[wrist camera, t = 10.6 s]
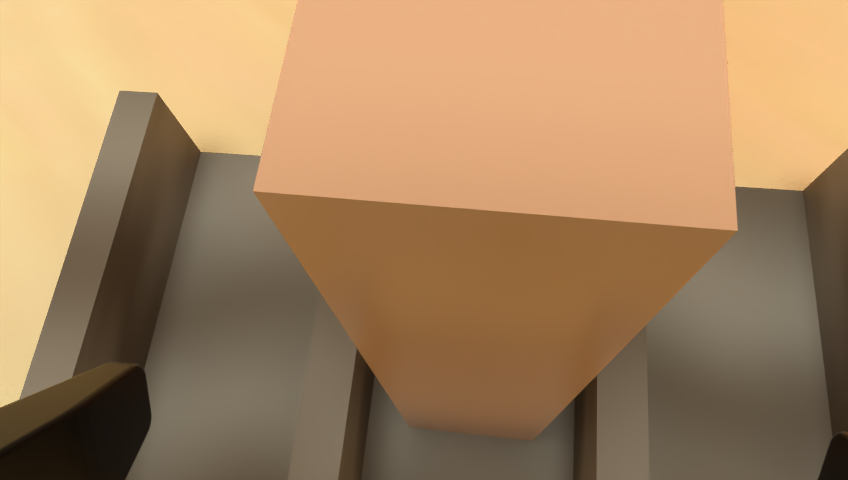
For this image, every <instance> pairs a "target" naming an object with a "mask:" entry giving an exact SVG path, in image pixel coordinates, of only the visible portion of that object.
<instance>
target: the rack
mask: <svg viewBox="0 0 848 480" xmlns="http://www.w3.org/2000/svg"><path fill="white" fill-rule="evenodd" d="M260 158H261V156H254V155H238V154H223V153H207V152H200V150H199V149H198V148H197V146H196V145H195V144H194V142H193V141H192V139H191V138H190V137H189V135H188V134H187V133H186V131H185V130H184V129H183V127H182V126H181V124H180V123H179V122H178V120H177V119H176V118H175V116H174V115H173V114H172V112H171V111H170V110H169V108H168V107H167V105H166V104H165V103H164V101H163V100H162V99H161V97H160V96H159V95H158V93H150V92H132V91H119V94H118V98H117V101H116V104H115V107H114V110H113V113H112V116H111V119H110V122H109V125H108V128H107V131H106V135H105V138H104V141H103V144H102V147H101V150H100V153H99V156H98V159H97V162H96V165H95V168H94V171H93V175H92V178H91V181H90V184H89V187H88V190H87V193H86V196H85V199H84V202H83V205H82V208H81V211H80V215H79V218H78V221H77V224H76V227H75V230H74V233H73V236H72V239H71V242H70V245H69V248H68V252H67V255H66V258H65V261H64V264H63V267H62V270H61V273H60V276H59V279H58V282H57V285H56V288H55V292H54V295H53V298H52V301H51V304H50V307H49V310H48V313H47V316H46V319H45V322H44V325H43V328H42V332H41V335H40V338H39V341H38V344H37V347H36V350H35V353H34V356H33V359H32V362H31V365H30V369H29V372H28V375H27V378H26V381H25V384H24V387H23V390H22V393H21V396H20V399H22V398H25V397H27V396H29V395H32V394H34V393H37V392H39V391H41V390H44V389H46V388H49V387H51V386H53V385H56V384H58V383H61V382H63V381H65V380H68V379H70V378H73V377H75V376H77V375H80V374H82V373H85V372H87V371H89V370H92V369H94V368H96V367H99V366H101V365H104V364H106V363H109V362H114V361H115V362H126V363H136V364H139V365H141V366H142V367H143V369H144V370H145V374H146V379H147V385H148V392H149V399H150V406H151V414H152V417H151V425H150V429H149V431H148V434H147V436H146V438H145V440H144V442H143V444H142V446H141V448H140V451H139V453H138V455H137V457H136V459H135V461H134V463H133V465H132V467H131V469H130V471H129V473H128V475H127V478H126V480H818V477H819V474H820V471H821V468H822V465H823V462H824V459H825V456H826V453H827V450H828V447H829V444H830V441H831V439H832V437H833V436H834V435H835V434H836V433H838V432H841V431H845V432H848V149H847V150H846V151H845V152H844V153H843V154H842V155H841V156H839V157H838V158H837V159H836V160H835V161H834V162H833V163H832V164H831V165H830V166H829V167H828V168H827V169H826V170H825V171H824V172H823V173H822V174H820V175H819V176H818V177H817V178H816V179H815V180H814V181H813V182H812V183H811V184H810V185H809V186H808V187H807V188H806V189H805V190H804V191H794V190H779V189H764V188H748V187H735V195H736V211H737V227H738V231H737V232H736V233H735V234H734V235H733V236H732V237H731V238H730V239H729V240H728V241H727V242H726V243H725V244H724V246H723V247H722V248H721V249H720V250H719V251H718V252H717V253H716V254H715V255H714V256H713V257H712V258H711V259H710V260H709V261H708V262H707V263H706V264H705V265H704V266H703V267H702V268H701V269H700V270H699V271H698V272H697V273H696V274H695V275H694V276H693V277H692V278H691V279H690V280H689V281H688V282H687V283H686V284H685V285H684V286H683V288H682V289H681V290H680V291H679V292H678V293H677V294H676V295H675V296H674V297H673V298H672V299H671V300H670V301H669V302H668V303H667V304H666V305H665V306H664V307H663V308H662V309H661V310H660V311H659V312H658V313H657V314H656V315H655V316H654V317H653V318H652V319H651V320H650V321H649V322H648V323H647V324H646V325H645V326H644V327H643V328H642V330H641V331H640V332H639V333H638V334H637V335H636V336H635V337H634V338H633V339H632V340H631V341H630V342H629V343H628V344H627V345H626V346H625V347H624V348H623V349H622V350H621V351H620V352H619V353H618V354H617V355H616V356H615V357H614V358H613V359H612V360H611V361H610V362H609V363H608V364H607V365H606V366H605V367H604V368H603V369H602V371H601V372H600V373H599V374H598V375H597V376H596V377H595V378H594V379H593V380H592V381H591V382H590V383H589V384H588V385H587V386H586V387H585V388H584V389H583V390H582V391H581V392H580V393H579V394H578V395H577V396H576V397H575V398H574V399H573V400H572V401H571V402H570V403H569V404H568V405H567V406H566V407H565V408H564V409H563V410H562V411H561V413H560V414H559V415H558V416H557V417H556V418H555V419H554V420H553V421H552V422H551V423H550V424H549V425H548V426H547V427H546V428H545V429H544V430H543V431H542V432H541V433H540V434H539V435H538V436H537V437H536V438H535V439H534V440H533V441H527V440H518V439H509V438H501V437H492V436H483V435H474V434H466V433H457V432H448V431H439V430H431V429H422V428H413V427H409V426H408V424H407V423H406V421H405V420H404V418H403V417H402V415H401V414H400V412H399V411H398V409H397V408H396V406H395V405H394V403H393V402H392V400H391V399H390V397H389V396H388V394H387V393H386V391H385V390H384V388H383V387H382V385H381V384H380V382H379V381H378V379H377V378H376V376H375V375H374V373H373V372H372V370H371V369H370V367H369V366H368V364H367V363H366V361H365V360H364V358H363V357H362V355H361V354H360V352H359V351H358V349H357V347H356V346H355V344H354V343H353V341H352V340H351V338H350V337H349V335H348V334H347V332H346V331H345V329H344V328H343V326H342V325H341V323H340V322H339V320H338V319H337V317H336V316H335V314H334V313H333V311H332V310H331V308H330V307H329V305H328V304H327V302H326V301H325V299H324V298H323V296H322V295H321V293H320V292H319V290H318V289H317V287H316V286H315V284H314V283H313V281H312V280H311V278H310V277H309V275H308V274H307V272H306V271H305V269H304V268H303V266H302V265H301V263H300V262H299V260H298V259H297V257H296V256H295V254H294V253H293V251H292V250H291V248H290V247H289V245H288V244H287V242H286V241H285V239H284V237H283V236H282V234H281V233H280V231H279V230H278V228H277V227H276V225H275V224H274V222H273V221H272V219H271V218H270V216H269V215H268V213H267V212H266V210H265V209H264V207H263V206H262V204H261V203H260V201H259V200H258V198H257V197H256V195H255V194H254V192H253V188H254V184H255V180H256V175H257V171H258V167H259V163H260ZM20 399H19V400H20Z"/></svg>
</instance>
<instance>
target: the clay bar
mask: <svg viewBox="0 0 848 480" xmlns="http://www.w3.org/2000/svg"><path fill="white" fill-rule="evenodd" d="M253 192H254V194H255V195H256V197H257V198H258V200H259V201H260V203H261V204H262V206H263V207H264V209H265V210H266V212H267V213H268V215H269V216H270V218H271V219H272V221H273V222H274V224H275V225H276V227H277V228H278V230H279V231H280V233H281V234H282V236H283V237H284V239H285V241H286V242H287V244H288V245H289V247H290V248H291V250H292V251H293V253H294V254H295V256H296V257H297V259H298V260H299V262H300V263H301V265H302V266H303V268H304V269H305V271H306V272H307V274H308V275H309V277H310V278H311V280H312V281H313V283H314V284H315V286H316V287H317V289H318V290H319V292H320V293H321V295H322V296H323V298H324V299H325V301H326V302H327V304H328V305H329V307H330V308H331V310H332V311H333V313H334V314H335V316H336V317H337V319H338V320H339V322H340V323H341V325H342V326H343V328H344V329H345V331H346V332H347V334H348V335H349V337H350V338H351V340H352V341H353V343H354V344H355V346H356V347H357V349H358V351H359V352H360V354H361V355H362V357H363V358H364V360H365V361H366V363H367V364H368V366H369V367H370V369H371V370H372V372H373V373H374V375H375V376H376V378H377V379H378V381H379V382H380V384H381V385H382V387H383V388H384V390H385V391H386V393H387V394H388V396H389V397H390V399H391V400H392V402H393V403H394V405H395V406H396V408H397V409H398V411H399V412H400V414H401V415H402V417H403V418H404V420H405V421H406V423H407V424H408V426H409V427H413V428H422V429H431V430H439V431H448V432H457V433H466V434H474V435H483V436H492V437H501V438H509V439H518V440H527V441H533V440H534V439H535V438H536V437H537V436H538V435H539V434H540V433H541V432H542V431H543V430H544V429H545V428H546V427H547V426H548V425H549V424H550V423H551V422H552V421H553V420H554V419H555V418H556V417H557V416H558V415H559V414H560V413H561V411H562V410H563V409H564V408H565V407H566V406H567V405H568V404H569V403H570V402H571V401H572V400H573V399H574V398H575V397H576V396H577V395H578V394H579V393H580V392H581V391H582V390H583V389H584V388H585V387H586V386H587V385H588V384H589V383H590V382H591V381H592V380H593V379H594V378H595V377H596V376H597V375H598V374H599V373H600V372H601V371H602V369H603V368H604V367H605V366H606V365H607V364H608V363H609V362H610V361H611V360H612V359H613V358H614V357H615V356H616V355H617V354H618V353H619V352H620V351H621V350H622V349H623V348H624V347H625V346H626V345H627V344H628V343H629V342H630V341H631V340H632V339H633V338H634V337H635V336H636V335H637V334H638V333H639V332H640V331H641V330H642V328H643V327H644V326H645V325H646V324H647V323H648V322H649V321H650V320H651V319H652V318H653V317H654V316H655V315H656V314H657V313H658V312H659V311H660V310H661V309H662V308H663V307H664V306H665V305H666V304H667V303H668V302H669V301H670V300H671V299H672V298H673V297H674V296H675V295H676V294H677V293H678V292H679V291H680V290H681V289H682V288H683V286H684V285H685V284H686V283H687V282H688V281H689V280H690V279H691V278H692V277H693V276H694V275H695V274H696V273H697V272H698V271H699V270H700V269H701V268H702V267H703V266H704V265H705V264H706V263H707V262H708V261H709V260H710V259H711V258H712V257H713V256H714V255H715V254H716V253H717V252H718V251H719V250H720V249H721V248H722V247H723V246H724V244H725V243H726V242H727V241H728V240H729V239H730V238H731V237H732V236H733V235H734V234H735V233H736V232H737V231H738V227H737V211H736V195H735V180H734V164H733V148H732V133H731V117H730V101H729V86H728V70H727V54H726V39H725V23H724V7H723V0H298V1H297V6H296V10H295V14H294V18H293V23H292V27H291V31H290V35H289V40H288V44H287V48H286V52H285V57H284V61H283V65H282V69H281V74H280V78H279V82H278V86H277V91H276V95H275V99H274V103H273V108H272V112H271V116H270V120H269V125H268V129H267V133H266V137H265V142H264V146H263V150H262V154H261V158H260V163H259V167H258V171H257V175H256V180H255V184H254V188H253Z"/></svg>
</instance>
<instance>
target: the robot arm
mask: <svg viewBox="0 0 848 480" xmlns="http://www.w3.org/2000/svg"><path fill="white" fill-rule="evenodd" d="M151 417H152V414H151V406H150V399H149V392H148V385H147V379H146V374H145V370H144V369H143V367H142V366H141V365H139V364H136V363H126V362H115V361H114V362H109V363H106V364H104V365H101V366H99V367H96V368H94V369H92V370H89V371H87V372H85V373H82V374H80V375H77V376H75V377H73V378H70V379H68V380H65V381H63V382H61V383H58V384H56V385H53V386H51V387H49V388H46V389H44V390H41V391H39V392H37V393H34V394H32V395H29V396H27V397H25V398H22V399H20V400H17V401H15V402H13V403H10V404H8V405H5V406H3V407H1V408H0V480H126V478H127V475H128V473H129V471H130V469H131V467H132V465H133V463H134V461H135V459H136V457H137V455H138V453H139V451H140V448H141V446H142V444H143V442H144V440H145V438H146V436H147V434H148V431H149V429H150V425H151ZM818 480H848V432H845V431H841V432H838V433H836V434H835V435H834V436H833V437H832V439H831V441H830V444H829V447H828V450H827V453H826V456H825V459H824V462H823V465H822V468H821V471H820V474H819V477H818Z"/></svg>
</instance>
